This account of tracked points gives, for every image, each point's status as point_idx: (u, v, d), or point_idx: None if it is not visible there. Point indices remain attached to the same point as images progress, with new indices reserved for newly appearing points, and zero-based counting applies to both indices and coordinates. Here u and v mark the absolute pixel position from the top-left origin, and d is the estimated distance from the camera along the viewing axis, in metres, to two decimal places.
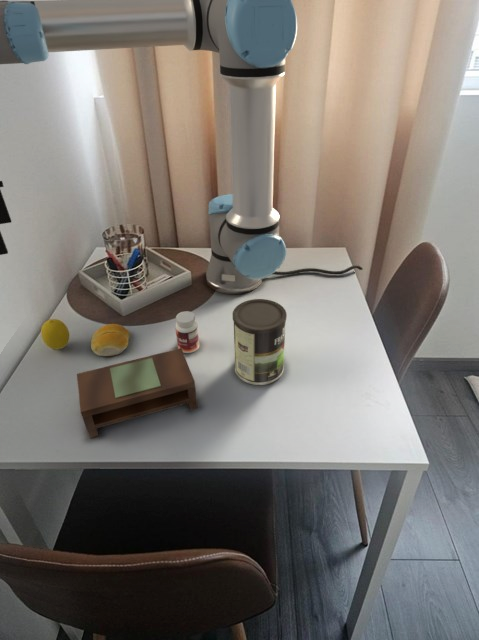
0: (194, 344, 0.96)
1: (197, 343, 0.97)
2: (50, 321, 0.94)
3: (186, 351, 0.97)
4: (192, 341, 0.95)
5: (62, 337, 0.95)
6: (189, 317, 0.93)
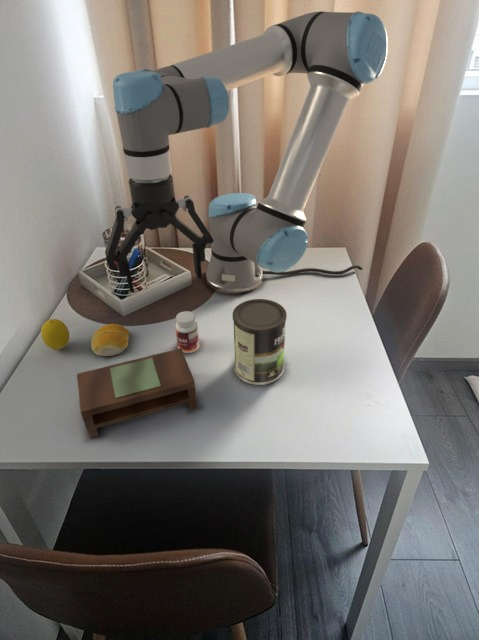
0: (194, 344, 0.96)
1: (197, 343, 0.97)
2: (50, 321, 0.94)
3: (186, 351, 0.97)
4: (192, 341, 0.95)
5: (62, 337, 0.95)
6: (189, 317, 0.93)
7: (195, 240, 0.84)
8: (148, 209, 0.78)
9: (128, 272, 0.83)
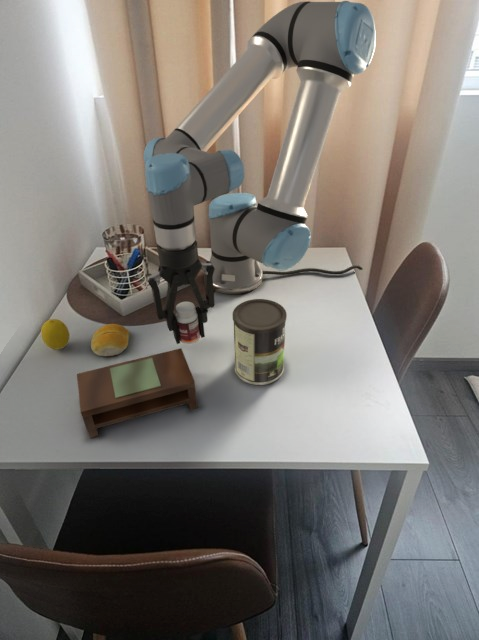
0: (195, 335, 0.95)
1: (198, 334, 0.96)
2: (50, 321, 0.94)
3: (187, 342, 0.95)
4: (192, 331, 0.94)
5: (62, 337, 0.95)
6: (189, 307, 0.92)
7: (201, 303, 0.92)
8: (174, 270, 0.85)
9: (176, 327, 0.93)
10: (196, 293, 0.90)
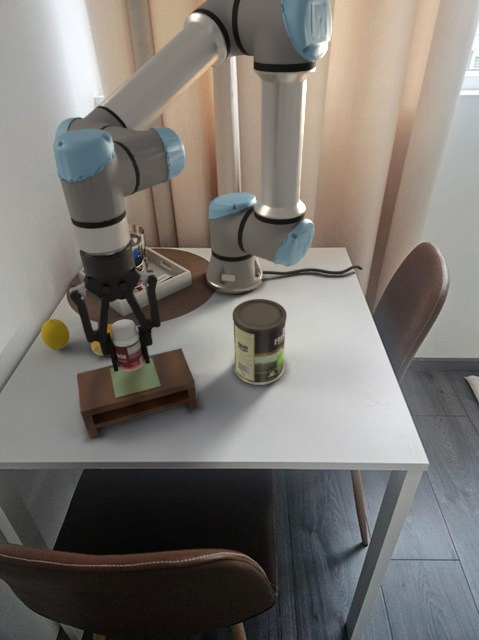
0: (137, 361, 0.77)
1: (141, 359, 0.77)
2: (50, 321, 0.94)
3: (127, 369, 0.77)
4: (132, 356, 0.76)
5: (62, 337, 0.95)
6: (128, 327, 0.74)
7: (142, 323, 0.74)
8: (104, 281, 0.67)
9: (111, 352, 0.75)
10: (135, 310, 0.72)
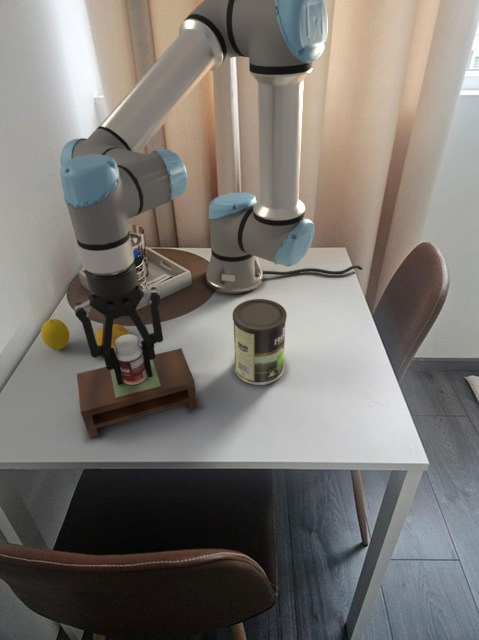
0: (140, 374, 0.79)
1: (144, 372, 0.79)
2: (50, 321, 0.94)
3: (130, 383, 0.79)
4: (136, 370, 0.78)
5: (62, 337, 0.95)
6: (131, 342, 0.76)
7: (145, 338, 0.76)
8: (108, 299, 0.69)
9: (115, 366, 0.77)
10: (138, 326, 0.74)
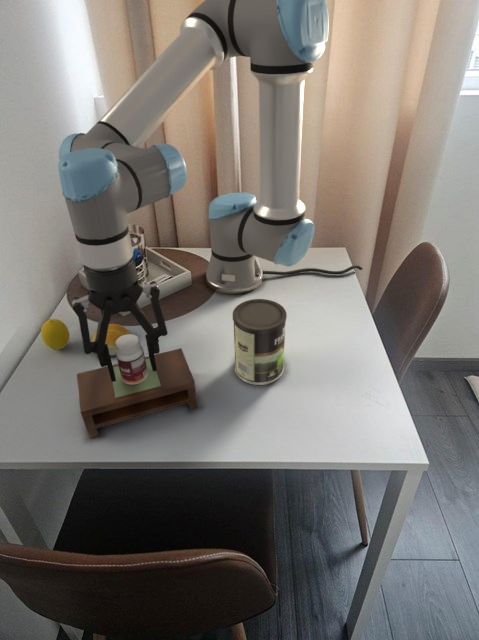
0: (140, 374, 0.79)
1: (144, 373, 0.80)
2: (50, 321, 0.94)
3: (130, 382, 0.79)
4: (136, 370, 0.78)
5: (62, 337, 0.95)
6: (132, 342, 0.76)
7: (149, 332, 0.75)
8: (107, 294, 0.69)
9: (109, 363, 0.76)
10: (140, 320, 0.73)
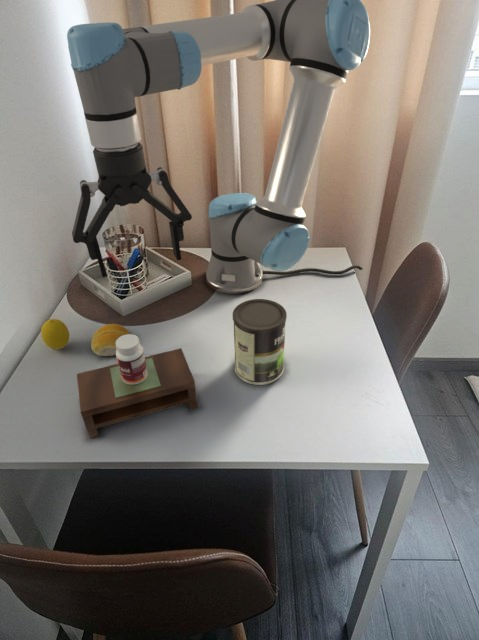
0: (140, 374, 0.79)
1: (144, 373, 0.80)
2: (50, 321, 0.94)
3: (130, 382, 0.79)
4: (136, 370, 0.78)
5: (62, 337, 0.95)
6: (132, 342, 0.76)
7: (171, 217, 0.77)
8: (117, 182, 0.70)
9: (99, 254, 0.75)
10: (158, 207, 0.75)
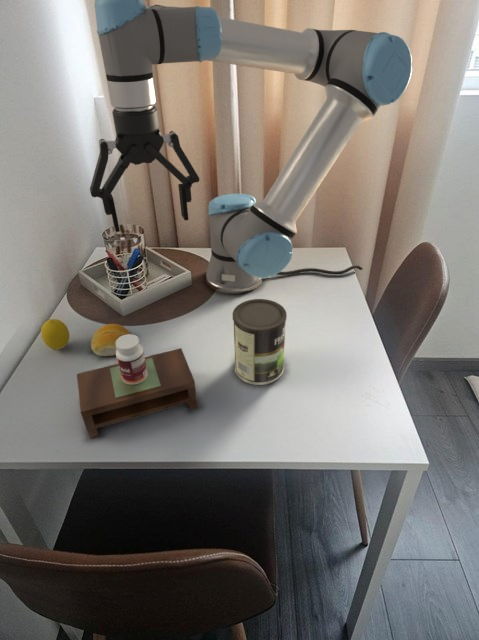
0: (140, 374, 0.79)
1: (144, 373, 0.80)
2: (50, 321, 0.94)
3: (130, 382, 0.79)
4: (136, 370, 0.78)
5: (62, 337, 0.95)
6: (132, 342, 0.76)
7: (181, 178, 0.84)
8: (133, 142, 0.77)
9: (113, 210, 0.82)
10: (169, 168, 0.82)
